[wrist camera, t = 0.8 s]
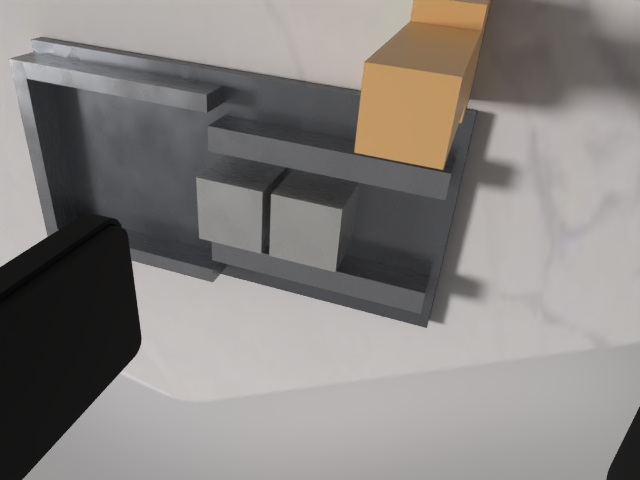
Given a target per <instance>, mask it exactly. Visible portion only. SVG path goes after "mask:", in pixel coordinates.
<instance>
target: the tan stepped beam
mask: <svg viewBox="0 0 640 480" xmlns="http://www.w3.org/2000/svg"><path fill="white" fill-rule="evenodd" d="M490 3H491V0H413V7H412V14H411V20H410V22H409V23H408V24H407V25H406V26H405V27H403V28H402V29H401V30H400V31H399V32H398V33H397V34H395V35H394V36H393V37H392V38H391V39H390V40H389V41H388V42H386V43H385V44H384V45H383V46H382V47H381V48H380V49H379V50H377V51H376V52H375V53H374V54H373V55H372V56H371V57H370V58H368V59H367V60H366V61H365V62H364V71H363V79H362V88H361V97H360V106H359V115H358V123H357V132H356V141H355V150H354V153H359V154H364V155H369V156H374V157H379V158H385V159H390V160H395V161H400V162H405V163H410V164H415V165H420V166H426V167H431V168H436V169H441V170H443V169H444V166H445V163H446V160H447V157H448V154H449V151H450V148H451V145H452V142H453V139H454V136H455V133H456V130H457V127H458V124H459V123H462V120H463V117H464V114H465V111H466V108H467V105H468V102H469V98H470V94H471V89H472V85H473V80H474V76H475V71H476V67H477V62H478V58H479V53H480V49H481V44H482V39H483V35H484V30H485V26H486V21H487V17H488V12H489V8H490Z"/></svg>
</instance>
